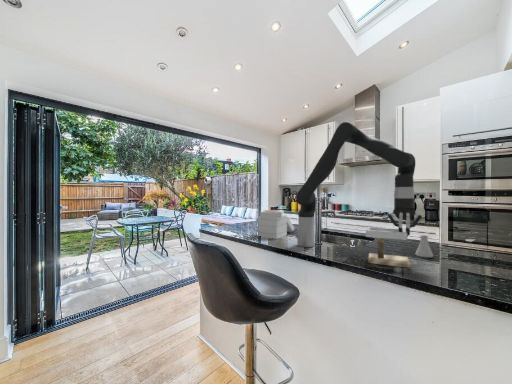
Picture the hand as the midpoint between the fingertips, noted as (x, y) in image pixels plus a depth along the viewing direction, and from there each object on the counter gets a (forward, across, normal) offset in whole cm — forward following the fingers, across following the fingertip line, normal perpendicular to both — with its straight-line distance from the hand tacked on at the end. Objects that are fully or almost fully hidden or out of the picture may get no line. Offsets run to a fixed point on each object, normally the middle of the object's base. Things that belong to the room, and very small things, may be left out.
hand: (404, 236), depth 105 cm
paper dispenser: (+12, -77, +37) cm, 87 cm away
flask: (+13, +10, +18) cm, 24 cm away
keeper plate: (+12, -6, 0) cm, 14 cm away
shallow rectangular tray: (+1, -7, 0) cm, 7 cm away
